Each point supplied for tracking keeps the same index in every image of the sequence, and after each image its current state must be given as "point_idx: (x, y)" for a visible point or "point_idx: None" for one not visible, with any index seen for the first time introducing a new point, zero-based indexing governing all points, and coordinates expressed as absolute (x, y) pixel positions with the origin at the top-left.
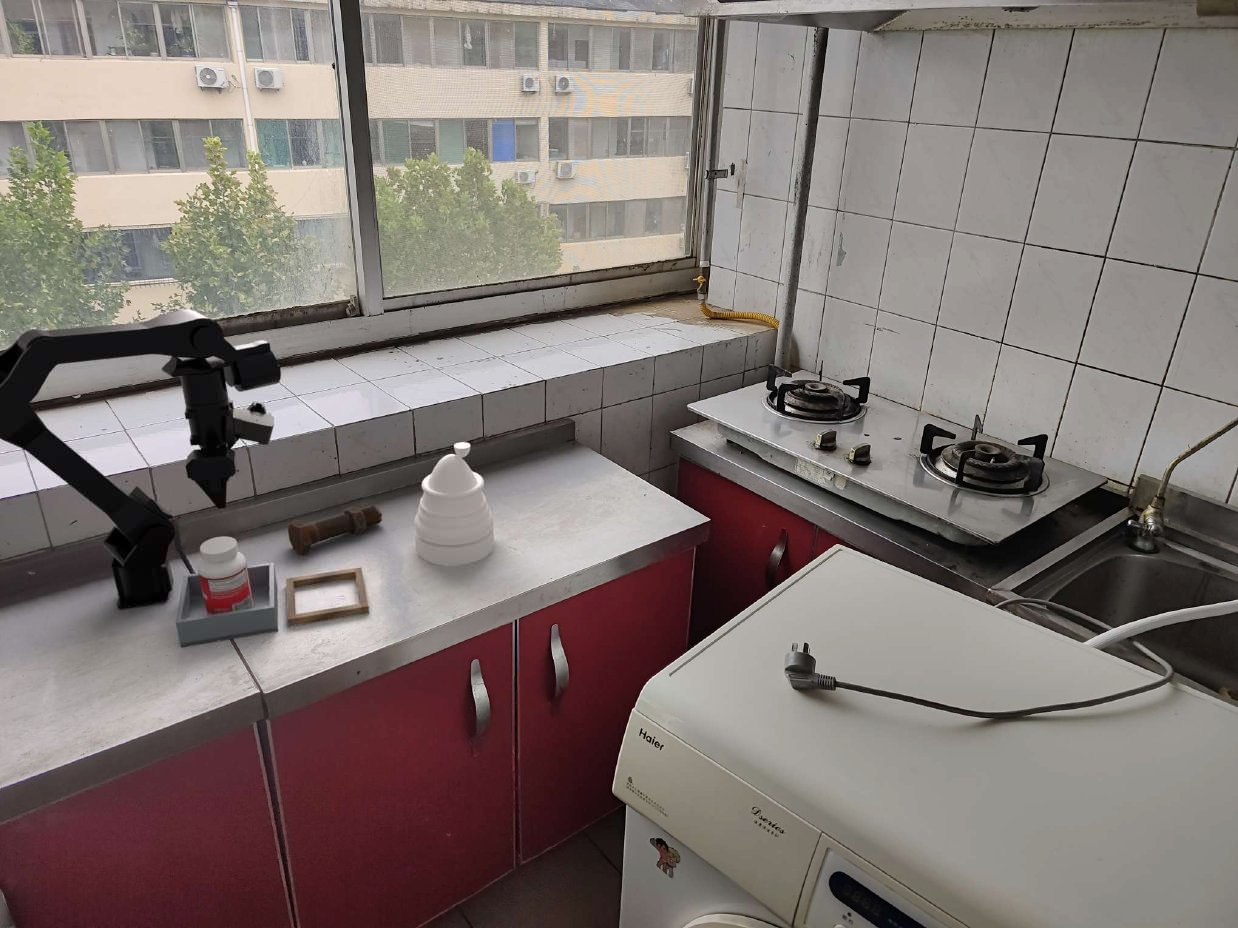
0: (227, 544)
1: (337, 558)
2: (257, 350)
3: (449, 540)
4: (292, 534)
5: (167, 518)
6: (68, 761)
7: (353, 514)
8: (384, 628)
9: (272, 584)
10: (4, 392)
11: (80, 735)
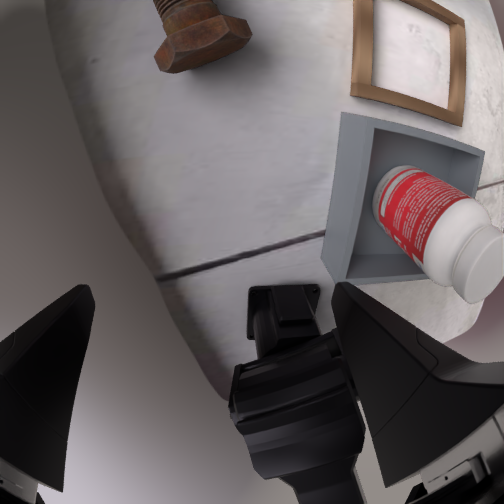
0: (499, 254)
1: None
2: None
3: None
4: (194, 59)
5: (349, 392)
6: (481, 306)
7: None
8: (482, 26)
9: (439, 137)
10: None
11: (468, 307)
